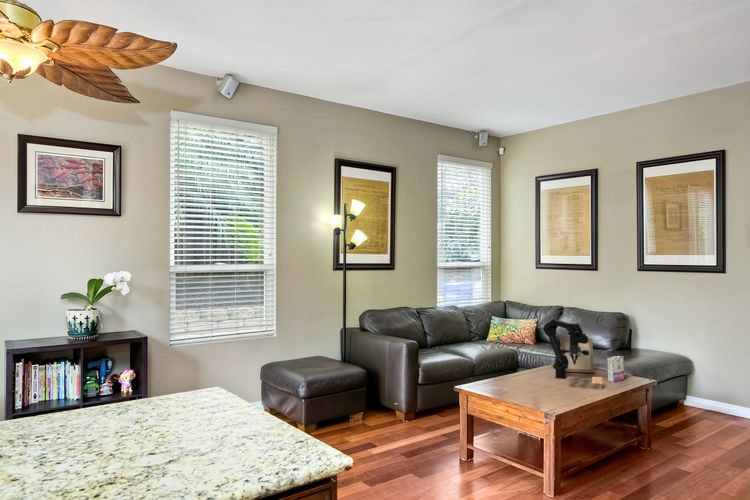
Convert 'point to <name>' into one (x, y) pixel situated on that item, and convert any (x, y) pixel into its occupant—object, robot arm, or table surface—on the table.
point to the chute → (584, 383)
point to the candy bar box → (615, 368)
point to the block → (597, 379)
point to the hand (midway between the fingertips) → (574, 364)
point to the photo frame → (579, 357)
